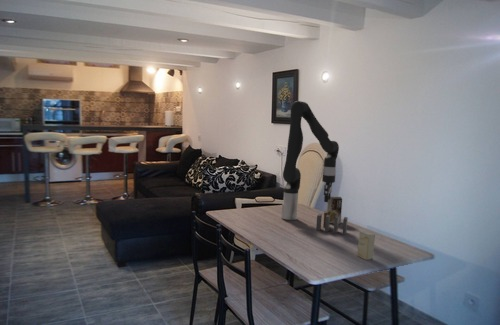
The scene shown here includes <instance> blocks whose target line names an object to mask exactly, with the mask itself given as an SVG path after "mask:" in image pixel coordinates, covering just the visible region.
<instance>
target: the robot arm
mask: <svg viewBox="0 0 500 325" xmlns="http://www.w3.org/2000/svg"><path fill="white" fill-rule="evenodd" d="M302 119H304V120H305V121H306V123H307V125H308V126H309V128H310V131H311V133H312V134H313V136H314V138H316V139H317V140H318V142H319V144H320V146H321V148H322V150H323V151H324V152H326V156H325V157H324V160H323V168H322V180H321V181H322V182H323V183H325V184H324V185H323V187H324V188H323V196H324V198H323V200H324V201H323V202H324V203H327V202H328V200H330V196H332V195H331V194H332V192H333V191H332V190H333V183H336V173H337V171H336V170H337V168H336V167H337V166H336V165H337V158H338V154H339V150H340V149H339V148H340V146H339V143H338V141H336V140H331V139H330V138H329V133H328V132H327V130H326V129H325V128H324V127H323V125H321V123H320V122H319V120H318V119H317V117H316V116H315V114H314V112H313V111H312V109H311V106H310V105H309V104H308V102H306V101H300V100H296V101H294V102H293V103H292V104H291V107H290V124H289V133H288V139H287V147H286V148H287V149H286V157H285V163H284V167H283V173H282V178H283V180H284V182H286V184H285V187H283V202H282V204H281V219H283V220H286V221H287V220H288V221H296V220H297V219H298V204H299V190H300V187H301V180H302V178H301V177H302V174H301V170H300V169H299V168H298V167H297V162H298V159H299V157H300V154H301V151H302V150H303V142H304V135H303V134H304V133H303V131H302V130H303V129H302Z"/></svg>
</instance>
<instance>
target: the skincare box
mask: <svg viewBox="0 0 500 325" xmlns="http://www.w3.org/2000/svg"><path fill="white" fill-rule="evenodd" d="M358 235H359V236H358V246H357V257H360V258H361V259H363V260H366V261H367V260H368V261H369V260H373V257H374V251H375V250H374V249H375V241H376V239H375V238H376V233H374V232H371V231H368V230H360V231H359V234H358Z"/></svg>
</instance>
